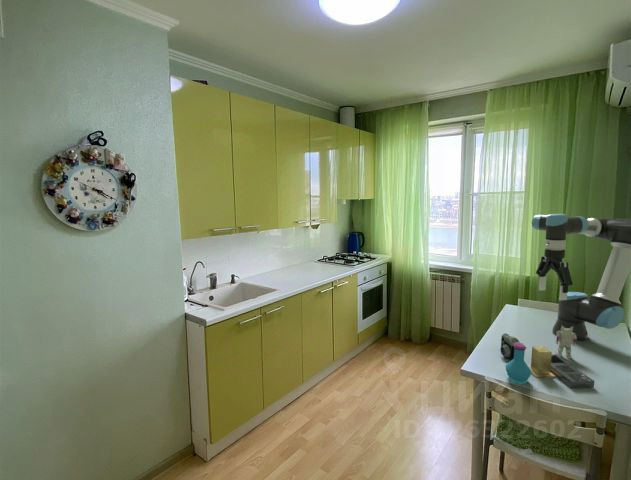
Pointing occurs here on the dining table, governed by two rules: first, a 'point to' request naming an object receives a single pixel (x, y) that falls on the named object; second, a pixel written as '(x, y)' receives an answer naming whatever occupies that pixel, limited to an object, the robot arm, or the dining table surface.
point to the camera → (508, 345)
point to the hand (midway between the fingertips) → (552, 294)
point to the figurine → (565, 341)
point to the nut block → (541, 360)
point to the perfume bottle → (518, 366)
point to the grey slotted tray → (569, 374)
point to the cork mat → (542, 375)
